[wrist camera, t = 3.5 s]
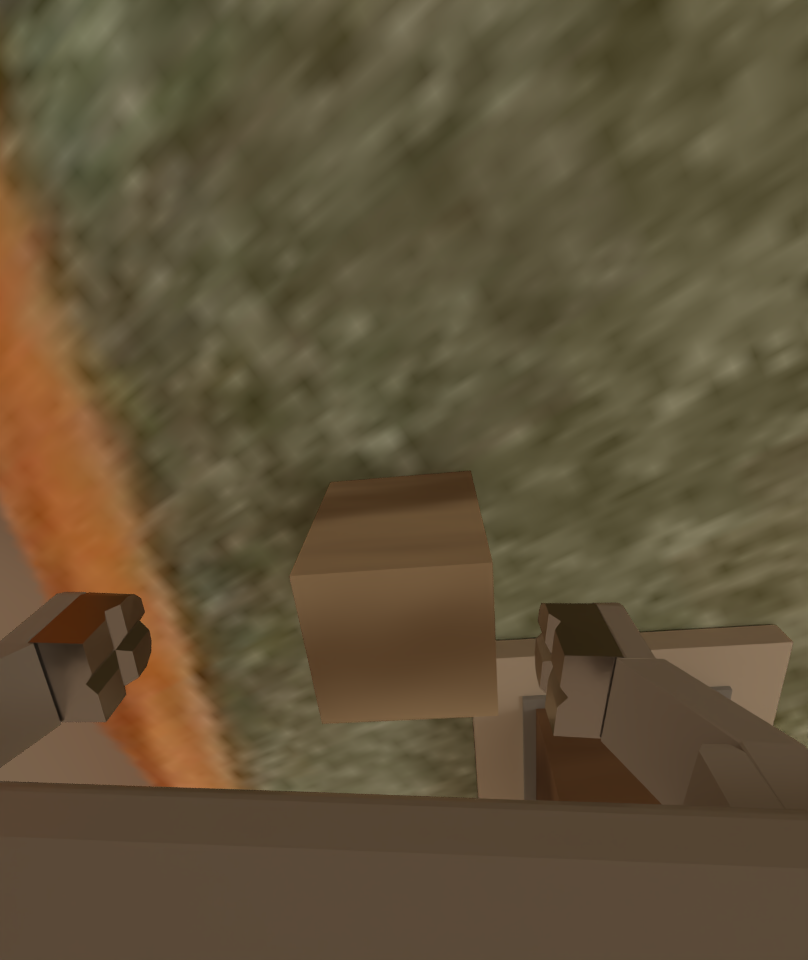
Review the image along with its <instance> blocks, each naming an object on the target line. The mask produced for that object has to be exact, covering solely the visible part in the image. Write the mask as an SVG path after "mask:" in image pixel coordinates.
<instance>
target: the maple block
mask: <svg viewBox="0 0 808 960" xmlns="http://www.w3.org/2000/svg"><path fill="white" fill-rule="evenodd" d="M289 577H290V581H291V586H292V590H293V595H294V599H295V604H296V608H297V613H298V617H299V622H300V626H301V631H302V635H303V640H304V644H305V649H306V653H307V658H308V662H309V667H310V671H311V675H312V680H313V684H314V689H315V693H316V698H317V702H318V707H319V711H320V716H321V720H322V724H327V723H349V722H371V721H394V720H416V719H438V718H460V717H482V716H498V692H497V665H496V639H495V613H494V587H493V562H492V558H491V554H490V550H489V545H488V541H487V537H486V533H485V529H484V524H483V520H482V516H481V512H480V508H479V504H478V499H477V495H476V491H475V487H474V483H473V478H472V474H471V471H461V472H449V473H436V474H424V475H412V476H399V477H387V478H374V479H362V480H350V481H337V482H330V484H329V487H328V489H327V491H326V493H325V496H324V498H323V500H322V503H321V505H320V507H319V509H318V512H317V514H316V516H315V519H314V521H313V523H312V525H311V528H310V530H309V532H308V534H307V537H306V539H305V541H304V544H303V546H302V548H301V550H300V553H299V555H298V557H297V560H296V562H295V564H294V566H293V569H292V571H291V573H290V576H289Z"/></svg>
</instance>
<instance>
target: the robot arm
mask: <svg viewBox="0 0 808 960" xmlns="http://www.w3.org/2000/svg"><path fill="white" fill-rule="evenodd" d="M144 613H145V610H144V607H143V604H142V600H141V598H140V597H138V596H136V595H135V594H115V593H91V592H89V593H86V592H63V593H58V594H56V595H55V596H54V597H52V598H51V599H50V600H49V601H48V602H46V603H45V604H44V605H43V606H42V607H40V608H39V609H38V610H37V611H36V612H34V613H33V614H32V615H31V616H30V617H28V618H27V619H26V620H25V621H24V622H22V623H21V624H20V625H19V626H18V627H16V628H15V629H14V630H13V631H12V632H10V633H9V634H8V635H7V636H6V637H4V638H3V639H2V640H1V641H0V768H1V767H2V766H3V765H5V764H6V763H7V762H9V761H10V760H12V759H13V758H15V757H16V756H17V755H19V754H20V753H22V752H23V751H24V750H26V749H27V748H29V747H30V746H31V745H33V744H34V743H36V742H37V741H38V740H40V739H41V738H43V737H44V736H46V735H47V734H48V733H50V732H51V731H53V730H54V729H55V728H57V727H58V726H60V725H61V722H107V720H108V719H109V717H110V716H111V715H112V713H113V712H114V711H115V709H116V708H117V707H118V705H119V704H120V702H121V701H122V700H123V698H124V697H125V696H126V690H125V685H127V684H129V683H130V682H132V681H133V680H135V679H137V678H138V677H139V676H140V675H141V673H142V672H143V670H144V669H145V668H146V666H147V663H148V660H149V657H150V654H151V636H150V631H149V629H148V628H147V627H146V626H145V625H144V624H143V623H141V622H140V619H141V618H142V616H143V614H144ZM538 622H539V625H540V628H541V631H542V633H541V634H540V635H539V636H538V637H537V638H536V643H535V669H536V675H537V680H538V684H539V688H540V689H541V690H543V691H544V692H545V693H546V701H545V709H546V712H547V716H548V719H549V723H550V726H551V729H552V733H553V736H565V737H582V738H599V739H601V742H602V743H603V744H604V745H605V746H606V747H607V748H608V749H609V750H610V751H611V752H612V753H613V754H614V755H615V756H616V757H617V758H618V759H619V760H620V761H621V762H622V763H623V764H624V765H625V767H626V768H627V769H628V770H629V771H630V772H631V773H632V774H633V775H634V776H635V777H636V778H637V779H638V780H639V781H640V782H641V783H642V784H643V785H644V786H645V787H646V788H647V789H648V790H649V791H650V792H651V794H652V795H653V796H654V797H655V798H656V799H657V800H658V801H659V802H660V803H661V804H634V803H606V802H575V801H544V800H512V799H484V798H458V797H431V796H405V795H379V794H352V793H325V792H296V791H267V790H238V789H209V788H180V787H151V786H122V785H94V784H64V783H38V782H9V781H0V960H808V749H807V748H806V747H805V746H804V745H803V744H801V743H800V742H798V741H797V740H795V739H793V738H792V737H790V736H789V735H787V734H785V733H784V732H782V731H780V730H779V729H777V728H776V727H774V726H772V725H771V724H769V723H767V722H766V721H764V720H763V719H761V718H759V717H758V716H756V715H754V714H753V713H751V712H750V711H748V710H746V709H745V708H743V707H741V706H740V705H738V704H737V703H735V702H733V701H732V700H730V699H728V698H727V697H725V696H724V695H722V694H720V693H719V692H717V691H716V690H714V689H712V688H711V687H709V686H707V685H706V684H704V683H703V682H701V681H699V680H698V679H696V678H694V677H693V676H691V675H690V674H688V673H686V672H685V671H683V670H681V669H680V668H678V667H677V666H675V665H673V664H672V663H670V662H668V661H667V660H665V659H656V658H655V656H654V655H653V653H652V651H651V650H650V648H649V647H648V645H647V643H646V642H645V640H644V639H643V637H642V635H641V634H640V632H639V631H638V629H637V627H636V626H635V624H634V623H633V621H632V619H631V618H630V616H629V615H628V613H627V611H626V610H625V608H624V607H623V605H621V604H620V603H541V606H540V609H539V616H538Z"/></svg>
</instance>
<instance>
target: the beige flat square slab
mask: <svg viewBox="0 0 808 960" xmlns="http://www.w3.org/2000/svg"><path fill="white" fill-rule="evenodd" d="M640 634H641V635H642V637H643V639H644V640H645V642H646V643H647V645H648V647H649V648H650V650H651V651H652V653H653V655H654V656H655V658H656V659H665V660H667V661H668V662H670V663H672V664H673V665H675V666H677V667H678V668H680V669H681V670H683V671H685V672H686V673H688V674H690V675H691V676H693V677H694V678H696V679H698V680H699V681H701V682H703V683H704V684H706V685H707V686H709V687H711V688H712V689H714V690H716V691H717V692H719V693H720V694H722V695H724V696H725V697H727V698H728V699H730V700H732V701H733V702H735V703H737V704H738V705H740V706H741V707H743V708H745V709H746V710H748V711H750V712H751V713H753V714H754V715H756V716H758V717H759V718H761V719H763V720H764V721H766V722H767V723H769V724H771V725H772V726H773V723H774V719H775V714H776V710H777V706H778V702H779V698H780V694H781V690H782V686H783V682H784V678H785V674H786V670H787V666H788V662H789V658H790V654H791V650H792V645H793V641H792V640H791V639H790V638H789V637H788V636H787V635H786V634H785V633H784V632H783V631H782V630H781V629H780V628H779V627H778V626H777V625H760V626H743V627H725V628H708V629H691V630H673V631H656V632H640ZM535 643H536V638H534V639H517V640H500V641H496V665H497V692H498V716H482V717H473V728H474V743H475V758H476V773H477V788H478V798H484V799H512V800H536V709H542V708H545V701H546V693H545V692H544V691H543V690H541V689H540V688H539V684H538V680H537V675H536V669H535Z"/></svg>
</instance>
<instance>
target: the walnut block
mask: <svg viewBox="0 0 808 960" xmlns="http://www.w3.org/2000/svg"><path fill="white" fill-rule="evenodd" d="M536 800H544V801H575V802H606V803H634V804H661V803H660V802H659V801H658V800H657V799H656V798H655V797H654V796H653V795H652V794H651V792H650V791H649V790H648V789H647V788H646V787H645V786H644V785H643V784H642V783H641V782H640V781H639V780H638V779H637V778H636V777H635V776H634V775H633V774H632V773H631V772H630V771H629V770H628V769H627V768H626V767H625V765H624V764H623V763H622V762H621V761H620V760H619V759H618V758H617V757H616V756H615V755H614V754H613V753H612V752H611V751H610V750H609V749H608V748H607V747H606V746H605V745H604V744H603V743H602V742H601V739H599V738H582V737H565V736H553V733H552V729H551V726H550V723H549V719H548V716H547V712H546V709H545V708H542V709H536Z"/></svg>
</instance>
